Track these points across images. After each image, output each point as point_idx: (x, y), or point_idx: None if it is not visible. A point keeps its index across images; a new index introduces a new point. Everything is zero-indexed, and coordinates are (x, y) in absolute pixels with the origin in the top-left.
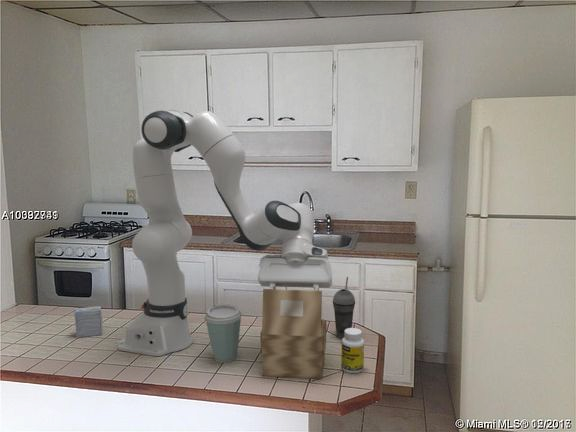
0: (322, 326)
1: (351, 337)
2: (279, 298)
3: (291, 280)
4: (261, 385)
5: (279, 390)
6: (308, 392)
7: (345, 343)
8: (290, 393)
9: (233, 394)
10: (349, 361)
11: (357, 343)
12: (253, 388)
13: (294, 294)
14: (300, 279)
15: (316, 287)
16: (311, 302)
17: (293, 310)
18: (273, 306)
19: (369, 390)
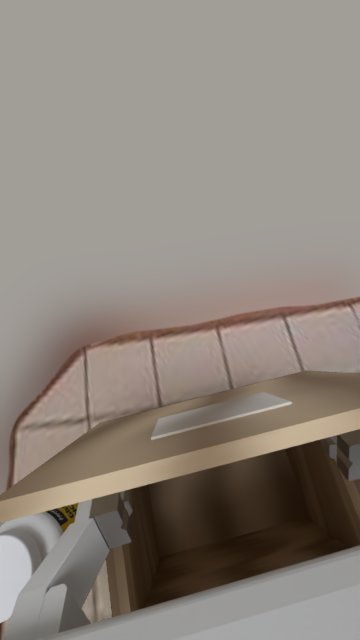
0: (117, 547)
1: (11, 530)
2: (305, 404)
3: (309, 575)
4: (251, 357)
5: (206, 352)
6: (147, 366)
7: (46, 519)
8: (181, 349)
9: (284, 307)
10: None
11: (2, 526)
12: (260, 340)
13: (211, 436)
14: (204, 625)
15: (37, 589)
16: (100, 450)
17: (205, 411)
18: (315, 388)
19: (24, 421)
